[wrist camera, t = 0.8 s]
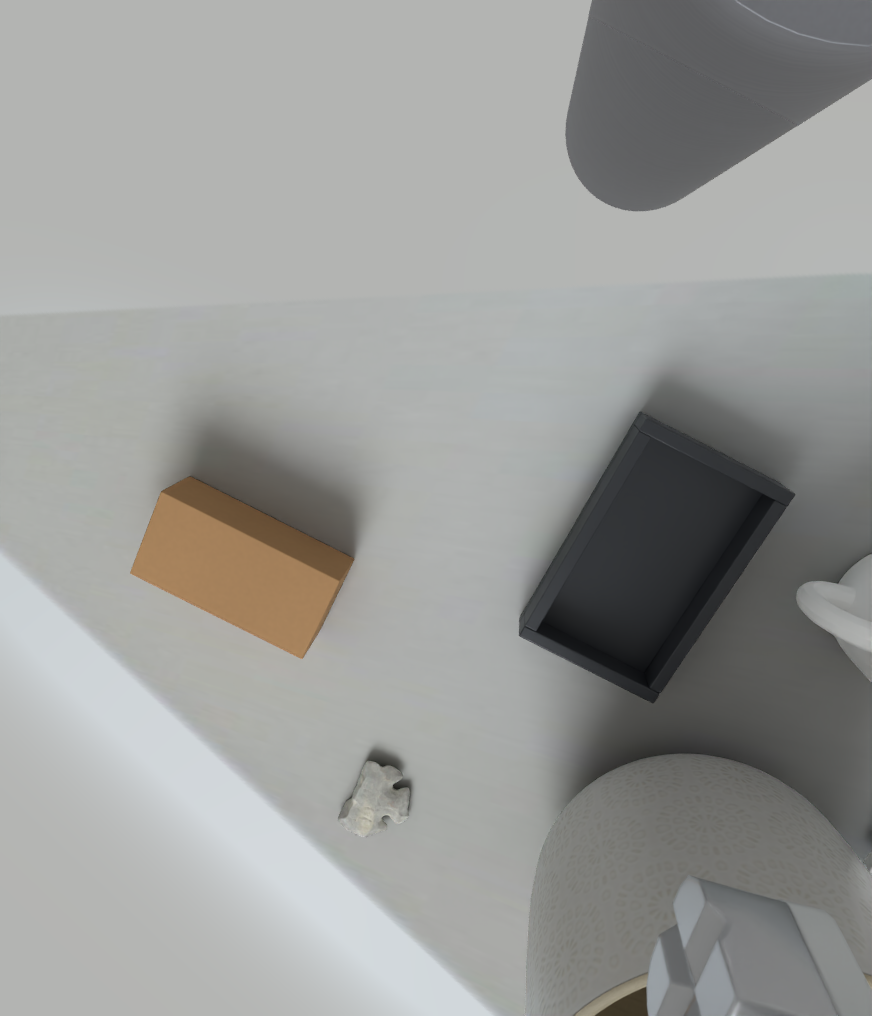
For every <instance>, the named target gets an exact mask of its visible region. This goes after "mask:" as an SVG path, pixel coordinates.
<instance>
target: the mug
mask: <svg viewBox="0 0 872 1016" xmlns="http://www.w3.org/2000/svg"><path fill="white" fill-rule="evenodd" d="M796 600H797V603H798V606H799V607H800V609H801V610H802V611H803V613H804V614H805V615H806V616H807V617H808V618H809V619H811V620H812V621H813V622H814V623H816V624H817V625H818V626H820V627H821V628H823V629H824V630H826V631H827V632H829V633H831V634H832V635H834V636H835V638H836V640H837V641H838V643H839V645H840V646H841V648H842V649H843V651H844V652H845V653H846V654H847V656H848V657H849V658H850V659H851V660H852V662H853V663H854V664H855V665H856V666H857V667H858V668H859V669H860V671H861V672H862V673H863V674H864V675H865V676H866V677H867V678H868V680H869V681H870V682H871V683H872V554H870V555H868V556H866V557H864V558H863V559H861V560H860V561H858V562H857V563H856V564H855V565H853V566H852V567H851V568H850V569H849V570H848V571H847V572H846V573H845V575H844V576H843V577H842V578H841V580H840V581H839V583H838V584H836V583H831V582H825V581H812V582H807V583H805V584H803V585H802V586H800V587H799V589H798V590H797V594H796Z"/></svg>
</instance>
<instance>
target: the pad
mask: <svg viewBox="0 0 872 1016" xmlns="http://www.w3.org/2000/svg"><path fill="white" fill-rule="evenodd" d="M353 561H354V558H352V557H350V556H348V555H346V554H344V553H342V552H340V551H338V550H336V549H334V548H332V547H330V546H328V545H326V544H324V543H322V542H320V541H318V540H316V539H314V538H312V537H310V536H308V535H306V534H304V533H302V532H300V531H298V530H296V529H294V528H292V527H290V526H288V525H286V524H284V523H282V522H280V521H278V520H276V519H274V518H272V517H270V516H268V515H266V514H264V513H262V512H260V511H258V510H256V509H254V508H252V507H250V506H248V505H246V504H244V503H242V502H240V501H238V500H236V499H234V498H232V497H230V496H228V495H226V494H224V493H222V492H221V491H219V490H217V489H215V488H213V487H211V486H209V485H207V484H205V483H203V482H201V481H199V480H197V479H195V478H193V477H191V476H189V477H187V478H185V479H184V480H182V481H180V482H178V483H176V484H174V485H172V486H170V487H168V488H167V489H165V490H163V491H161V493H160V496H159V498H158V501H157V504H156V506H155V509H154V511H153V514H152V517H151V519H150V522H149V525H148V527H147V530H146V532H145V535H144V538H143V540H142V543H141V546H140V548H139V551H138V553H137V556H136V559H135V561H134V564H133V567H132V569H131V572H130V573H131V574H132V575H134V576H136V577H138V578H140V579H142V580H144V581H146V582H148V583H150V584H152V585H154V586H156V587H158V588H160V589H162V590H164V591H166V592H168V593H170V594H172V595H174V596H176V597H178V598H180V599H182V600H184V601H186V602H188V603H190V604H192V605H194V606H196V607H198V608H200V609H202V610H204V611H206V612H208V613H210V614H212V615H214V616H216V617H218V618H220V619H222V620H224V621H226V622H228V623H231V624H233V625H235V626H237V627H239V628H241V629H243V630H245V631H247V632H249V633H251V634H253V635H255V636H257V637H259V638H261V639H263V640H265V641H267V642H269V643H271V644H273V645H275V646H277V647H279V648H281V649H283V650H285V651H287V652H289V653H291V654H293V655H295V656H297V657H299V658H301V659H303V657H304V656H305V654H306V652H307V651H308V649H309V648H310V646H311V644H312V643H313V641H314V639H315V638H316V636H317V635H318V633H319V631H320V629H321V627H322V625H323V623H324V621H325V619H326V617H327V615H328V613H329V611H330V609H331V607H332V605H333V603H334V600H335V598H336V596H337V594H338V592H339V590H340V588H341V586H342V584H343V582H344V580H345V578H346V576H347V574H348V572H349V570H350V568H351V566H352V563H353Z"/></svg>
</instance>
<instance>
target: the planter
mask: <svg viewBox="0 0 872 1016" xmlns="http://www.w3.org/2000/svg"><path fill="white" fill-rule="evenodd" d="M688 875H690V876H694V877H697V878H701V879H704V880H708V881H712V882H715V883H719V884H722V885H726V886H729V887H733V888H737V889H740V890H744V891H747V892H751V893H754V894H758V895H761V896H765V897H769V898H772V899H776V900H777V899H782V900H786V901H790V902H794V903H798V904H802V905H806V906H810V907H814V908H818V909H822V910H825V911H826V912H827V913H828V914H829V915H830V916H831V917H833V918H834V920H835V921H836V923H837V925H838V926H839V928H840V930H841V932H842V934H843V936H844V938H845V940H846V942H847V944H848V945H849V947H850V949H851V951H852V953H853V955H854V957H855V959H856V961H857V963H858V965H859V966H860V968H861V970H862V972H863V974H864V976H865V978H866V980H867V982H868V984H869V985H870V987H871V989H872V876H871V875H870V873H869V872H868V871H867V869H866V868H865V866H864V865H863V863H862V862H861V861H860V859H859V858H858V856H857V855H856V854H855V852H854V851H853V849H852V848H851V847H850V846H849V844H848V843H847V842H846V841H845V840H844V839H843V837H842V836H841V835H840V834H839V833H838V831H837V830H836V829H835V828H834V827H833V825H832V824H831V823H830V822H829V821H828V820H827V819H826V817H825V816H824V815H823V814H822V813H821V812H820V811H819V810H818V809H816V808H815V807H814V806H813V805H812V804H811V803H810V802H809V801H808V800H807V799H805V798H804V797H803V796H802V795H800V794H799V793H798V792H796V791H795V790H793V789H792V788H791V787H789V786H788V785H786V784H785V783H783V782H782V781H780V780H778V779H776V778H775V777H773V776H771V775H769V774H767V773H765V772H763V771H761V770H759V769H756V768H754V767H752V766H749V765H746V764H743V763H740V762H737V761H733V760H729V759H725V758H721V757H716V756H710V755H702V754H668V755H660V756H654V757H649V758H644V759H641V760H637V761H634V762H631V763H628V764H625V765H623V766H620V767H618V768H616V769H614V770H612V771H610V772H608V773H606V774H604V775H603V776H601V777H599V778H598V779H596V780H595V781H593V782H592V783H591V784H589V785H588V786H587V787H585V788H584V789H583V790H582V791H581V792H580V793H578V794H577V795H576V796H575V797H574V798H573V799H572V800H571V801H570V803H569V804H568V805H567V806H566V807H565V809H564V810H563V811H562V813H561V814H560V815H559V817H558V818H557V820H556V821H555V823H554V825H553V826H552V828H551V830H550V832H549V834H548V836H547V838H546V840H545V843H544V845H543V848H542V850H541V854H540V857H539V860H538V864H537V868H536V873H535V878H534V884H533V889H532V895H531V901H530V912H529V925H528V939H527V959H526V993H525V1016H648V1010H647V991H646V984H647V977H648V971H649V964H650V958H651V955H652V953H653V950H654V947H655V944H656V942H657V939H658V936H659V934H661V933H662V932H664V931H666V930H667V929H669V928H671V927H672V926H674V925H676V924H677V920H676V916H675V912H674V908H673V904H672V902H673V900H674V898H675V896H676V893H677V891H678V889H679V886H680V884H681V883H682V882H683V881H684V880H685V879H686V878H687V876H688Z"/></svg>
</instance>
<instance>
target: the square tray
mask: <svg viewBox="0 0 872 1016" xmlns="http://www.w3.org/2000/svg"><path fill="white" fill-rule="evenodd" d="M864 864H865V865H866V867H867V869H868V870H869V872H870V873H871V875H872V852H871V853H870V854H869V855H868V856H867V857H866V858H865V860H864Z"/></svg>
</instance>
